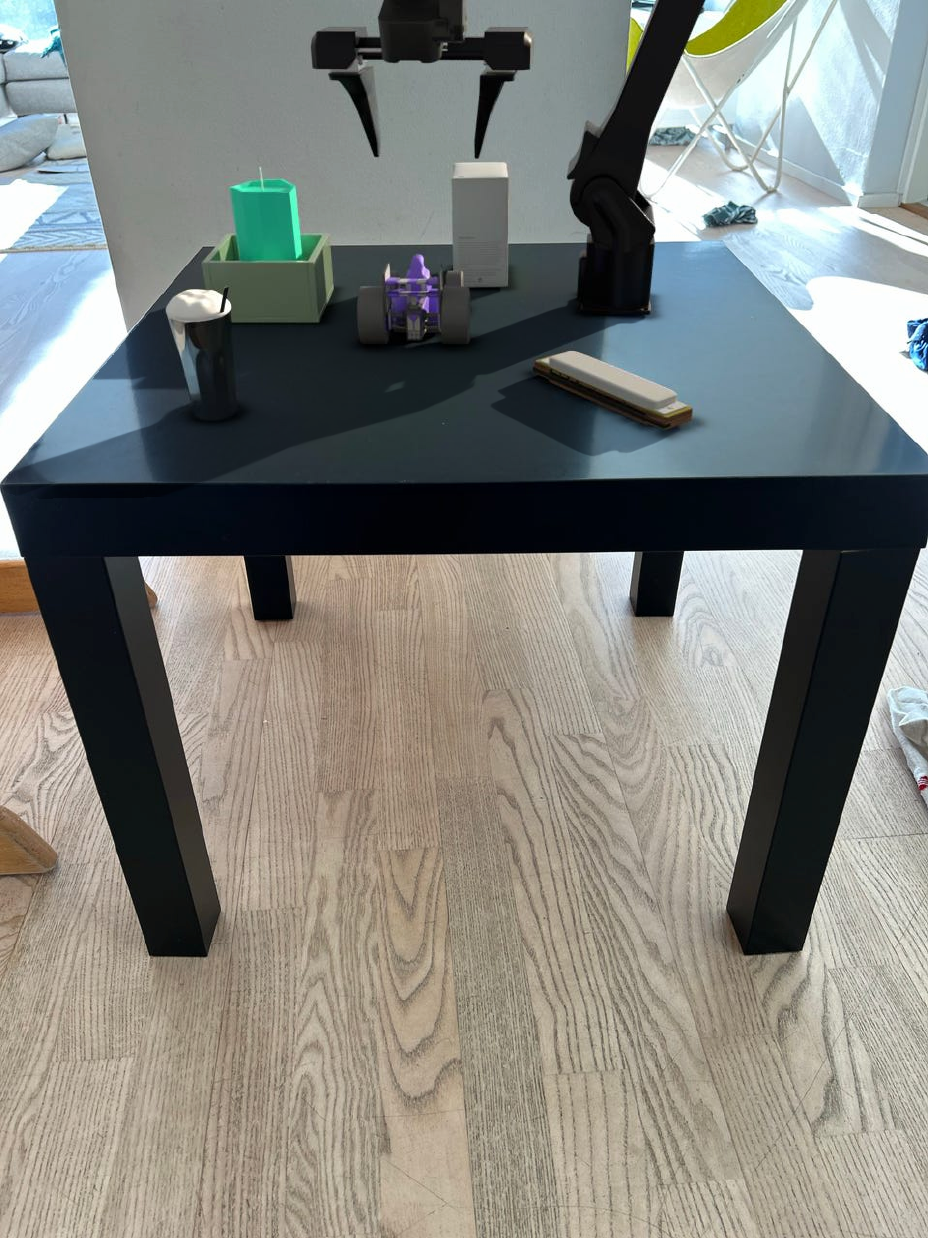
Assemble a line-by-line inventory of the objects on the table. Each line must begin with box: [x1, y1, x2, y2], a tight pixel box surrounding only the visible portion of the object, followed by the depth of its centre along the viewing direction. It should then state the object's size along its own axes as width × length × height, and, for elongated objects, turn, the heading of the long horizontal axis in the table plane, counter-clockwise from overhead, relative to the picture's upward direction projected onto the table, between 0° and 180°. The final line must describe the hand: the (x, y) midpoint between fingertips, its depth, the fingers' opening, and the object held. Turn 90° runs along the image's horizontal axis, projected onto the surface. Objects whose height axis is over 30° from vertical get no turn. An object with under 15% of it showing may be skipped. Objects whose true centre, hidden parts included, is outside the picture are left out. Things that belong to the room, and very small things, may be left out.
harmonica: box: [532, 350, 694, 431], centre depth 77 cm, size 15×3×2 cm, turn 37°
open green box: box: [201, 233, 335, 324], centre depth 96 cm, size 10×10×6 cm
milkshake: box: [165, 286, 238, 422], centre depth 73 cm, size 4×5×10 cm
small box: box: [451, 161, 510, 288], centre depth 101 cm, size 8×6×10 cm
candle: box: [229, 166, 303, 261], centre depth 94 cm, size 6×6×12 cm
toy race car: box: [356, 253, 471, 345], centre depth 91 cm, size 10×15×6 cm, turn 178°
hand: (427, 157), depth 91 cm, fingers open, 9 cm apart
